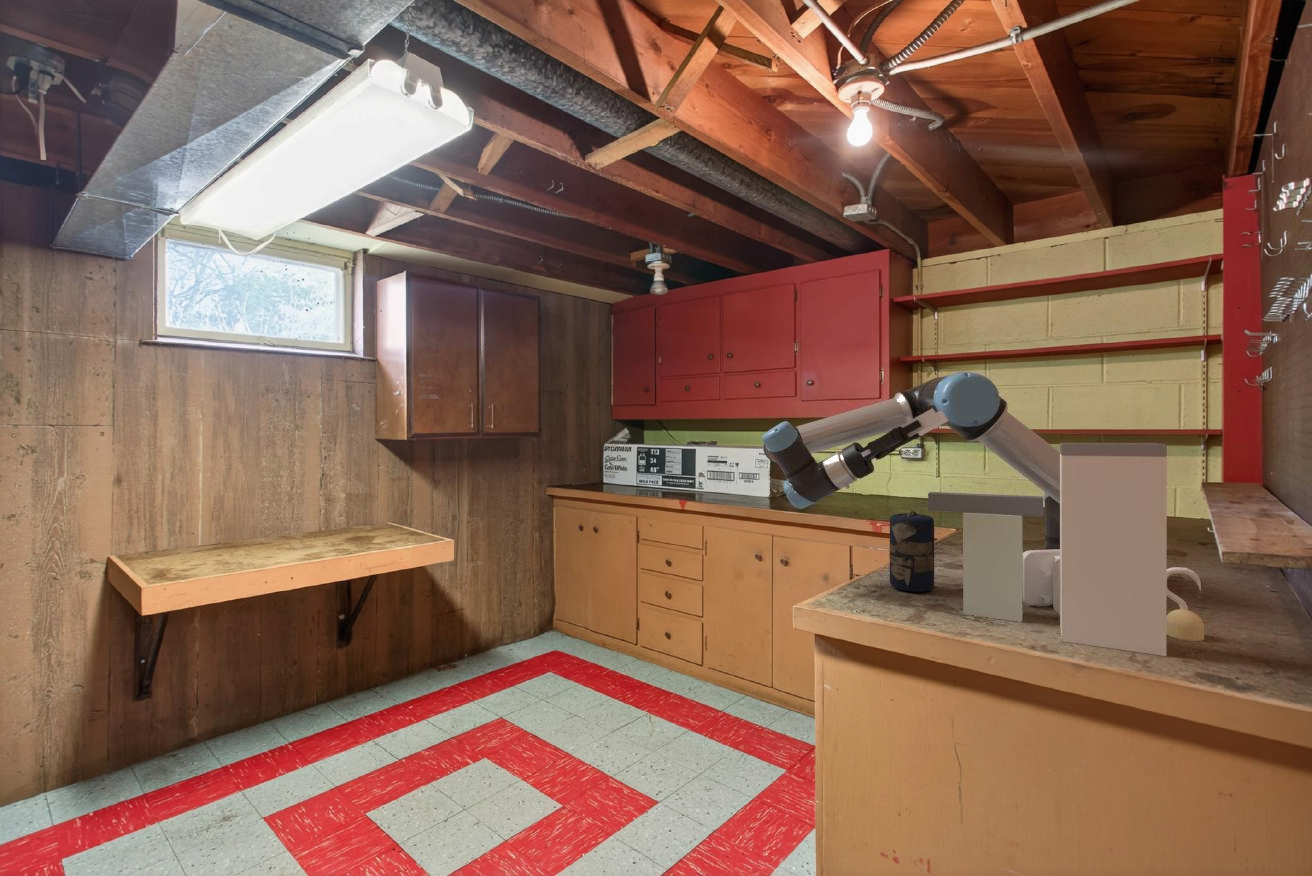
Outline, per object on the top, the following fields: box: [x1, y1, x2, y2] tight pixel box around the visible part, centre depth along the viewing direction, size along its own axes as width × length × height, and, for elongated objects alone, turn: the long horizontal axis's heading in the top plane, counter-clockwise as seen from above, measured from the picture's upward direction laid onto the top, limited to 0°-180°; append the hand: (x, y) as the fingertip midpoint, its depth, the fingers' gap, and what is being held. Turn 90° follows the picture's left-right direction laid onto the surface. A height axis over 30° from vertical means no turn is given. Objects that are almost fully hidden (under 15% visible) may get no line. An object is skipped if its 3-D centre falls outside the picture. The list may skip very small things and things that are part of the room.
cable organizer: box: [1023, 549, 1060, 615], centre depth 123 cm, size 15×11×12 cm
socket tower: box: [1059, 442, 1168, 657], centre depth 105 cm, size 8×14×34 cm, turn 58°
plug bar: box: [927, 491, 1044, 518], centre depth 122 cm, size 4×20×4 cm, turn 58°
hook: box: [1166, 566, 1205, 642], centre depth 108 cm, size 6×5×12 cm
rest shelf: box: [962, 512, 1024, 623], centre depth 122 cm, size 7×10×20 cm
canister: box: [888, 510, 935, 593], centre depth 141 cm, size 10×10×18 cm
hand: (941, 414), depth 125 cm, fingers open, 13 cm apart
